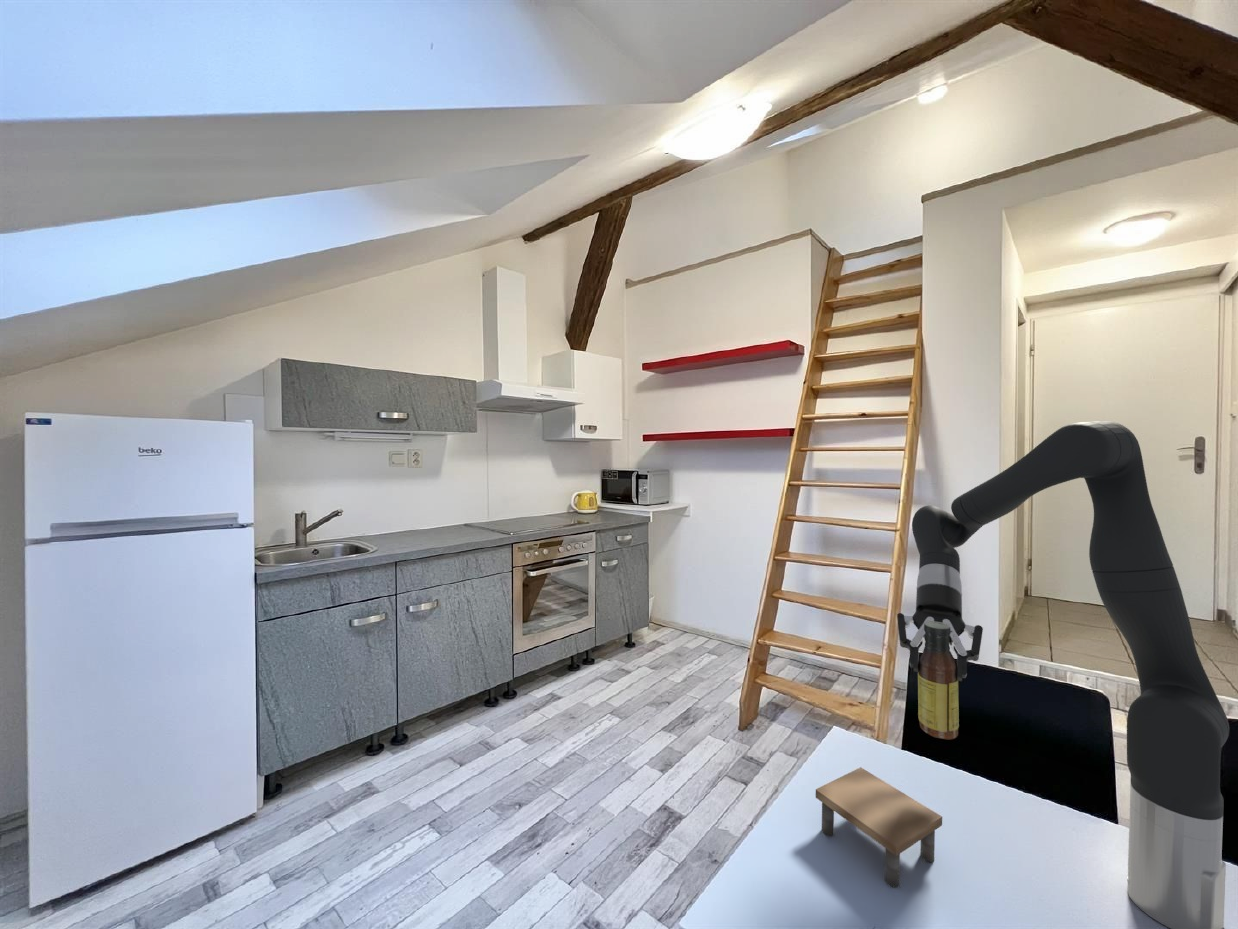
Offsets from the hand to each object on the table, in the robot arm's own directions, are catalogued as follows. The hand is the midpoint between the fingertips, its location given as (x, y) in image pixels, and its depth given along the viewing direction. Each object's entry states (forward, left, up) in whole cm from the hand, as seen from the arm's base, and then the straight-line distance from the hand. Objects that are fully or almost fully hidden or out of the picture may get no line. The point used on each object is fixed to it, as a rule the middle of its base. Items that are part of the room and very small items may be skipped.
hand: (937, 674), depth 89 cm
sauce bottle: (+1, -2, -11) cm, 12 cm away
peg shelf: (+4, +12, -29) cm, 32 cm away
